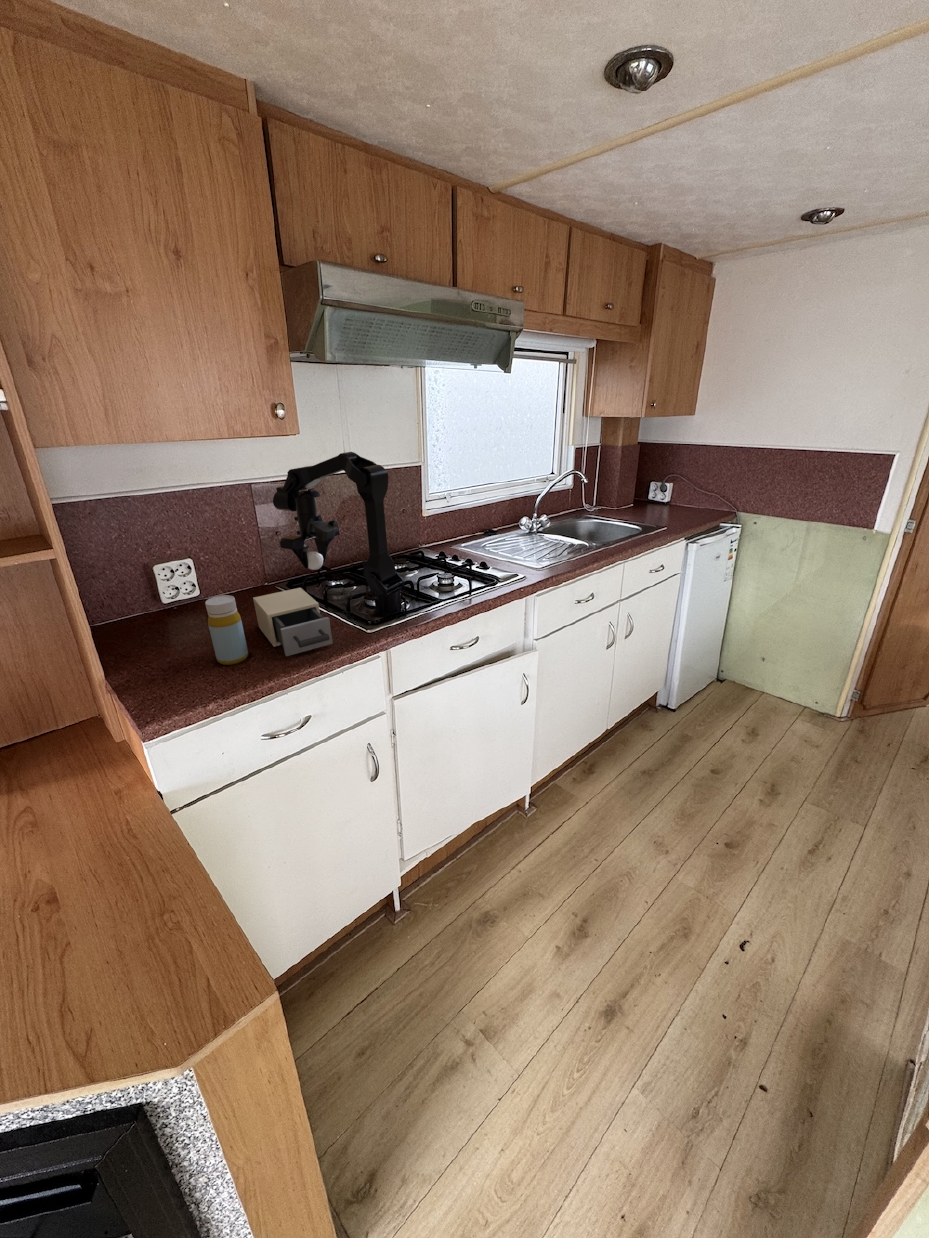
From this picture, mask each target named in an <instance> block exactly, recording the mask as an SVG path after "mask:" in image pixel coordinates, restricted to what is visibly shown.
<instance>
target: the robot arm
mask: <svg viewBox="0 0 929 1238" xmlns="http://www.w3.org/2000/svg"><path fill="white" fill-rule="evenodd" d="M342 471H343V472H344V473H345V474H346V476H347V478H348V479H349V480H350V481H352V482H353V483H354V484H355V486H356V490H357V494H358V495H359V496H360V498H361V499H362V500H363V502H364V511H365V521H366V522H365V523H366V530H367V541H368V542H367V543H368V550H369V554H368V555H369V556H368V557H367V559H365V560H363V561H362V569H363V573H362V574H363V575H362V576H363V577H364V578H365V581H366V583H367V585H368V588H369V590H370V593H371V595H374V599H373V600H374V611H375V612H376V613H378V615H380V616H381V617H383V618H387V617H391V616H394V615H398V614H401V613H405V611H406V610H405V609H404V608H403V605H402V595H401V589H403V588H404V586H405V582H406V581H405V580H404V578H403V577H402V576H401V575H400V573H399V572H398V571H397V569H396V566H395V561H394V560H393V558H392V557H391V555H390V554H389V551H388V550H389V549H388V539H387V537H388V536H387V527H386V526H387V525H386V515H385V504H384V501H385V497H386V495H387V493H388V490H389V472H388V470H387V469H386V468H385V467H384V466H382V465H381V464H377V463H376V462H374V461H372V460H370V459H368V458H366V457H362V456H360V455H359V454H357V453H356V452H354V451H347V452H340V453H339V454H338V455H335V456H334V457H331V458H328V459H326V460H323V461H321V462H318V463H316V464H313V465H308V466H307V465H306V466H302V467H301V466H300V467H296V468H290V469H289V470H288V471H287V475H286V479H285V481H284V484H283V486H282V485H281V486H277V487H276V488H275V489H276V492H275V493H274V495H273V498H272V504H273V506H274V508H275V509H276V510H278V511H285V512H296V515H295V516H294V517H293V519H294V521H295V522H297V523H298V530H296V535H293V534H290V535H286V536H284V537H283V536H282V537H281V538H280V540H279V546H280V548H281V549H286V550H291V551H292V552H293V554H294V555H295V556H296V558H297V559H298V560H299V562H300V563H301V565H302V566H303V567H304V568H305V569H309V568H308V557H307V553H308V550H309V549H310V546H309V545H306V542H308V541H311V540H314V543H315V546H316V549H317V550H316V551H317V553H320V554H321V555H322V556H323V563H324V562H326V558H327V553H328V548H329V545H330V543H331V542H332V541H333V540H335V537H337V536H340V534H341V533H340V527H339V524H338V523H339V522H338V521H337V520H336V519H332V520H329V521H323V517H322V515H321V514H318V508H317V500H316V498H319V497H321V496H322V495H321V493H320V492H319V491H317V490H316V489H315V488H314V487H315V486H316V485H317V484H319V483H321V481H322V480H323V479H324V478H327V477H329V476H333V475H335V474H337V473H341V472H342Z"/></svg>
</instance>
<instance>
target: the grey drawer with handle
mask: <svg viewBox="0 0 929 1238" xmlns="http://www.w3.org/2000/svg"><path fill="white" fill-rule="evenodd" d="M272 622H273V627H274V632H275V637H276V639H277V640H278V641H279V642H280V644H281V645H280V646H281V647H282V648H283V652H284V655H285V657H289V656H293V655H297V654H300V653H304V652H308V651H312V650H315V649H318V648H322V647H325V646H329V645H333V636H332V629H331V622H330V618H329V617H328V616H325V617H324V616H323V615H322V614H321V612H320V613H318V612H317V611H316V610H315V609H314V608H308V609H304V610H300V611H296V612H291V613H287V614H283V615H279V616H274V617H272Z"/></svg>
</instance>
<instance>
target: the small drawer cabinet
mask: <svg viewBox="0 0 929 1238" xmlns="http://www.w3.org/2000/svg"><path fill="white" fill-rule="evenodd" d="M252 599H253V604H254V609H255V615H256V619H257V625H258V628H259V630H260V631H261V632H262V633H263V635H264V636H265V638H266V639H267V640H268V641H269V643H270V644H271V646H272V647H273V648H275V647H279V646H282V645H281V644H280V642H279V641H278V640H277V639H276V637H275V632H274V627H273V622H272V617H274V616H279V615H283V614H287V613H291V612H296V611H300V610H304V609H308V608H314V609H315V610H316V611H317V612H318V613H320V614H321V611H320V605H319V604H320V603H319V602H318V601H316V599H315V598H313V597H312V596H311V595H310V594H308V592H306V590H304V589H303V588H301V587H296V588H292V589H288V590H283V591H277V592H273V593H268V594H264V595H260V596H255V597H252Z"/></svg>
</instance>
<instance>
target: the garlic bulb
mask: <svg viewBox="0 0 929 1238" xmlns="http://www.w3.org/2000/svg"><path fill="white" fill-rule="evenodd" d="M307 557H308V568H307V569H309V570H311V571H317V570H320V569H321V568H322V567H323V564H324V562H323V556H322V555H321V554H320V553H318V551H309V552H307Z"/></svg>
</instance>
